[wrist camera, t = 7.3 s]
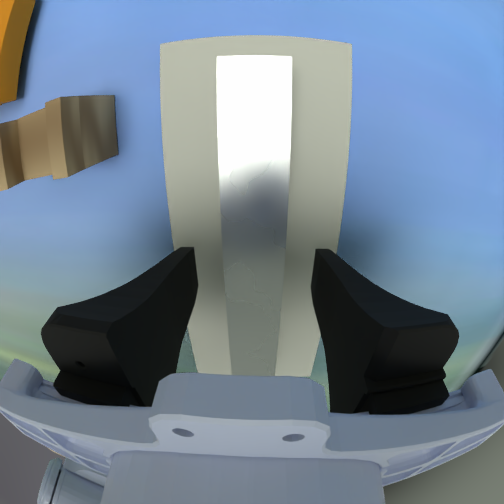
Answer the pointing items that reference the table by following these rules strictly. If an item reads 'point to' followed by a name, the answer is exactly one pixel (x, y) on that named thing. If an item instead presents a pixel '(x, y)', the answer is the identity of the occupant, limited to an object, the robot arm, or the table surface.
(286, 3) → the table surface
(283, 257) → the rail
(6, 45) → the bracket
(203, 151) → the mat
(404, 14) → the table surface
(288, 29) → the table surface
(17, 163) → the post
